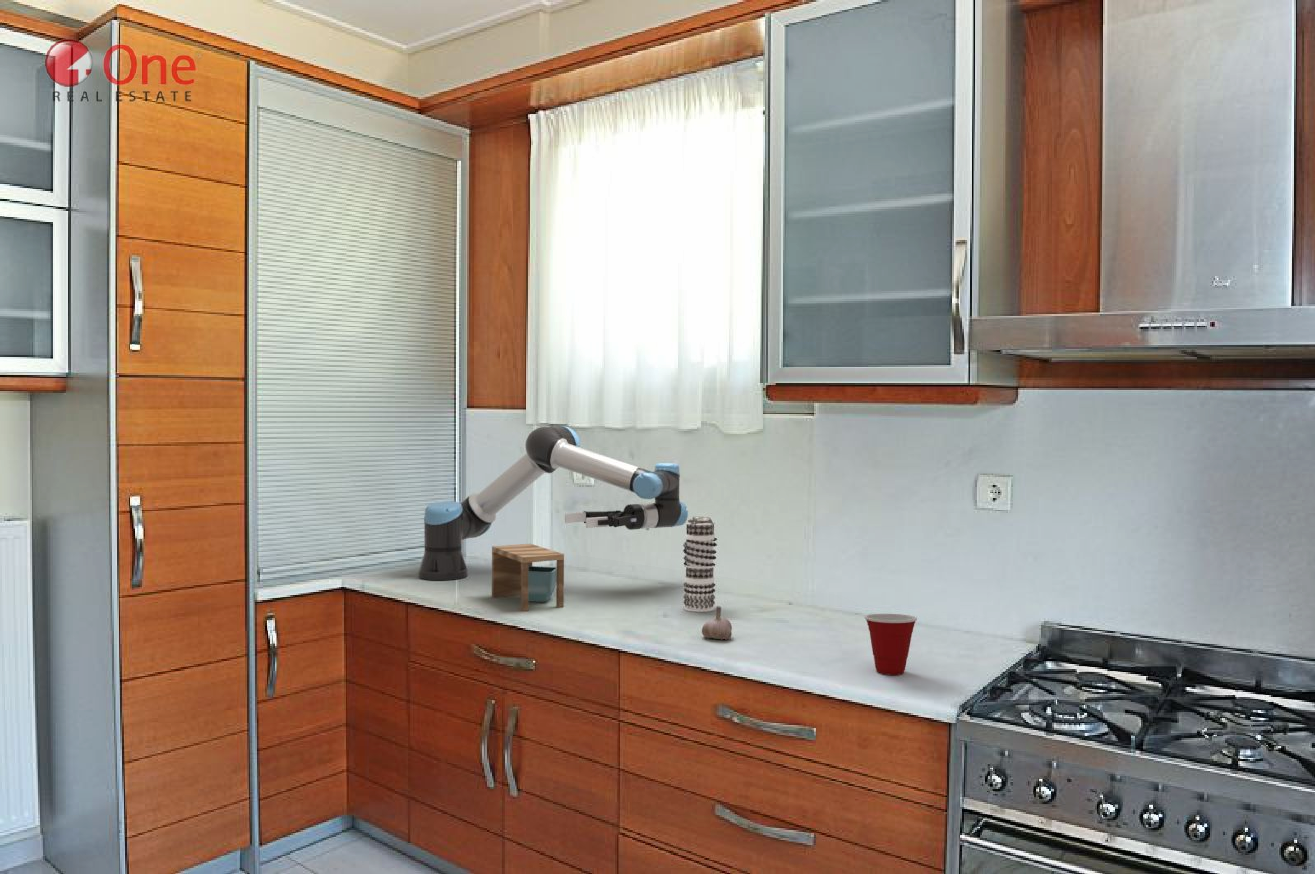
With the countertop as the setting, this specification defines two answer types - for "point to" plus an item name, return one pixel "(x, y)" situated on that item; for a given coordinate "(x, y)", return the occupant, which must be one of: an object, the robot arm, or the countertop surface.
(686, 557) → the decorative candle
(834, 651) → the countertop surface
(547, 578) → the flower pot
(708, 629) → the garlic bulb
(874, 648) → the plastic cup
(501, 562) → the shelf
